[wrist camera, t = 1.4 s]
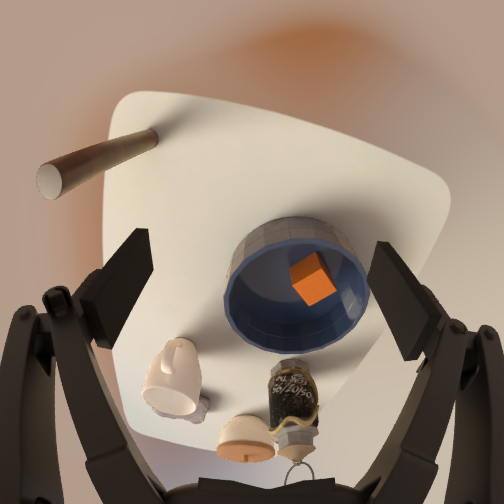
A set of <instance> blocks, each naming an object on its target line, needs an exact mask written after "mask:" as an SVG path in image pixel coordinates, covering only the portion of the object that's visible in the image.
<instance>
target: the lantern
mask: <svg viewBox="0 0 504 504" xmlns="http://www.w3.org/2000/svg"><path fill="white" fill-rule="evenodd" d="M268 388H269V408H270V427H271V429H272V430H271V429H268V433H269V434H270V437H271V439H272V440H273V441H274V442H275V443H278V444H279V451H278V452H277V454H279V455H281V456H284V457H287V458H288V459H290V460H292V462H293V464H294V465H293V467H295V466H299V465H300V464H305V465H307V466H308V467H309V468H310V470H311V472H312V477H313V480H314V472H313V470H312V468H311V467H310V465H308V464H307V463H305V462H302V459H303V458H304V457H305V456H307V455H308V454H309V453H311V452H313V451H314V450H315V449H316V448H315V446H313V437H314V436H316V435H318V434H319V432H318V429H317V426H318V423H319V421H318V409H319V405H317V403H318V391H317V387H316V385H315V382H314V380H313V378H312V376H311V375H310V374H309V369H308V366H307V363H304V362H301V361H298V360H295V359H290V360H285V361H280V362H279V363H278V364H277V365H276V366H275V367H274V368H273V369H272V370H271V378H270V380H269V383H268ZM295 462H299V463H295ZM293 467H291V468H290V470H289V471H288V473H287V475H286V479H285V482H284V486H285V485H286V480H287V477H288V475H289V473H290V471H291V470H292V468H293Z"/></svg>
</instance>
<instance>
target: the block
mask: <svg viewBox="0 0 504 504" xmlns="http://www.w3.org/2000/svg"><path fill="white" fill-rule="evenodd" d="M290 274H291V280H292V286H293V287H294V288H295V289H296V291H297V292H298V293H299V294H300V296H301V297H302V298H303V299H304V301H305V302H306V303H307V304H308V306H311V305H313V304H315V303H316V302H318V301H320V300H322V299H323V298H325V297H327V296H329V295H330V294H332V293H334V292H336V291H337V289H336V286H335V283H334V281H333V278H332V275H331V273H330V271H329V270H328V268H327V267H326V265H325V264H324V263H323V261H322V260H321V258H320V257H319V255H318V254H317V252H314V253H312V254H311V255H309V256H308V257H306V258H304V259H303V260H301V261H299V262H298V263H296V264H294V265H293V266H291V267H290Z"/></svg>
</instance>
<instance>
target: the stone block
mask: <svg viewBox="0 0 504 504" xmlns="http://www.w3.org/2000/svg"><path fill="white" fill-rule="evenodd" d="M209 403H210V402H209V400H208V399H206V398H204V397H202V396H199V401H198V406H197V409H196V410H195V411H194V412H193V413H191V414H188V415H172V414H167V413H164V412H161V411H159V410H157V409H155V408H153V407H152V410H153V411H154V412H155V413H157V414H158V415H160V416H162V417H167V418H172V419H176V418H180V419H184V420H188V421H190V422H192V423H193V424H199V423H201V422H203V421H204V418H205V415H206V413H207V411H208V408H209Z"/></svg>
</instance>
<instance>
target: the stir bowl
mask: <svg viewBox="0 0 504 504" xmlns="http://www.w3.org/2000/svg"><path fill="white" fill-rule="evenodd" d="M314 252H317V254H318V255H319V257H320V258H321V260H322V261H323V263H324V264H325V265H326V267H327V268H328V270H329V271H330V273H331V275H332V278H333V281H334V283H335V286H336V289H337V291H336V292H334V293H332V294H330V295H329V296H327V297H325V298H323V299H322V300H320V301H318V302H316V303H315V304H313V305H311V306H308V304H307V303H306V302H305V301H304V299H303V298H302V297H301V296H300V294H299V293H298V292H297V291H296V289H295V288H294V287H293V286H292V280H291V274H290V267H291V266H293V265H294V264H296V263H298V262H299V261H301V260H303V259H304V258H306V257H308V256H309V255H311V254H312V253H314ZM367 277H368V275H367V274H366V272H365V270H364V268H363V266H362V265H361V263H360V261H359V259H358V258H357V256H356V254H355V252H354V251H353V249H352V247H351V246H350V244H349V242H348V241H347V239H346V238H345V237H344V236H343V235H342V234H341V233H340V232H339V231H338V230H336V229H335V228H334V227H332V226H330V225H329V224H327V223H325V222H322V221H319V220H316V219H312V218H306V217H288V218H281V219H277V220H274V221H271V222H268V223H266V224H264V225H262V226H260V227H258V228H257V229H255V230H254V231H252V232H251V233H250V234H248V235H247V236H246V237H245V238H244V239H243V240H242V242H241V243H240V244H239V246H238V247H237V248H236V250H235V252H234V254H233V256H232V259H231V262H230V266H229V269H228V273H227V279H226V285H225V291H224V308H225V315H226V317H227V319H228V321H229V323H230V325H231V326H232V328H233V330H234V331H235V332H236V333H237V334H238V335H239V336H240V337H241V338H243V339H244V340H245V341H246V342H247V343H249V344H251V345H253V346H255V347H258V348H260V349H262V350H264V351H269V352H274V353H279V354H304V353H308V352H312V351H316V350H320V349H323V348H325V347H327V346H329V345H331V344H333V343H335V342H337V341H339V340H340V339H342V338H343V337H344V336H345V335H346V334H348V333H349V332H350V331H351V330H352V329H353V328H354V327H355V326H356V325H357V323H358V322H359V320H360V319H361V317H362V316H363V314H364V313H365V310H366V307H367V303H368V299H369V296H370V291H369V285H368V283H367V281H366V280H367Z"/></svg>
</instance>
